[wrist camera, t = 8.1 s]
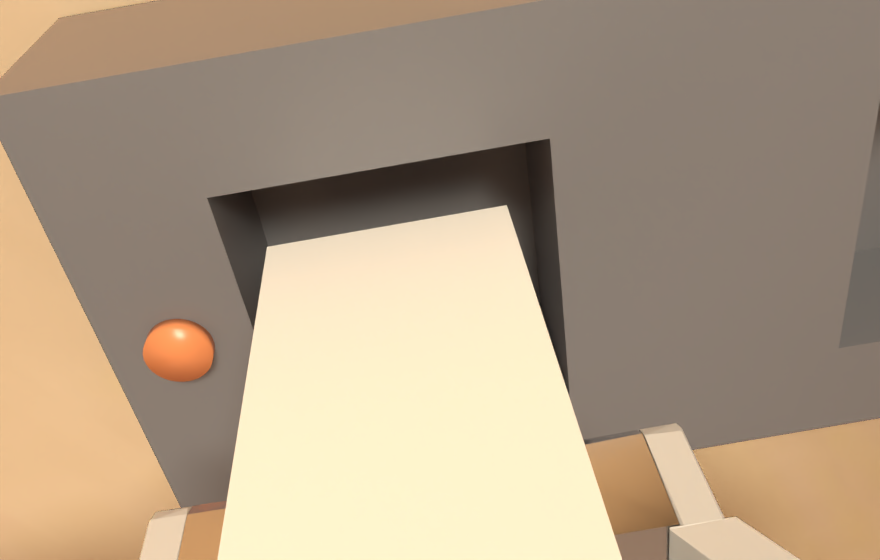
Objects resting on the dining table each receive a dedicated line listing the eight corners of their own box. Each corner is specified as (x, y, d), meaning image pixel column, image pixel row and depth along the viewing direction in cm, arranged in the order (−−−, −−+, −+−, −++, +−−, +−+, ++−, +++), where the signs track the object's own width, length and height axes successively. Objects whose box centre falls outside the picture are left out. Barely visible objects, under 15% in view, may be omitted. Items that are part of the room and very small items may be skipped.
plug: (506, 205, 14) (656, 663, 7) (527, 385, 16) (655, 861, 9) (266, 247, 14) (187, 741, 7) (321, 420, 16) (302, 920, 9)
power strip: (1234, -190, 15) (1502, -162, 12) (1075, 260, 21) (1224, 370, 17) (59, 18, 15) (-28, 106, 12) (218, 407, 21) (192, 545, 17)
